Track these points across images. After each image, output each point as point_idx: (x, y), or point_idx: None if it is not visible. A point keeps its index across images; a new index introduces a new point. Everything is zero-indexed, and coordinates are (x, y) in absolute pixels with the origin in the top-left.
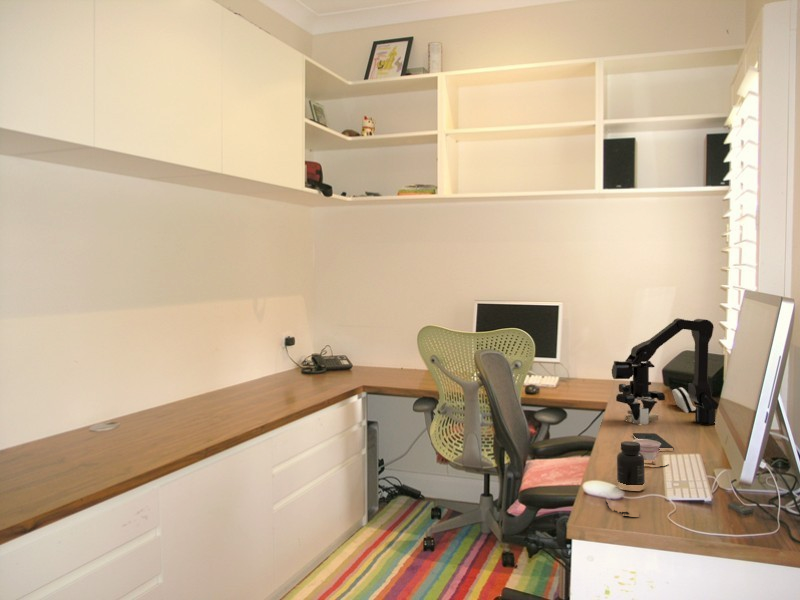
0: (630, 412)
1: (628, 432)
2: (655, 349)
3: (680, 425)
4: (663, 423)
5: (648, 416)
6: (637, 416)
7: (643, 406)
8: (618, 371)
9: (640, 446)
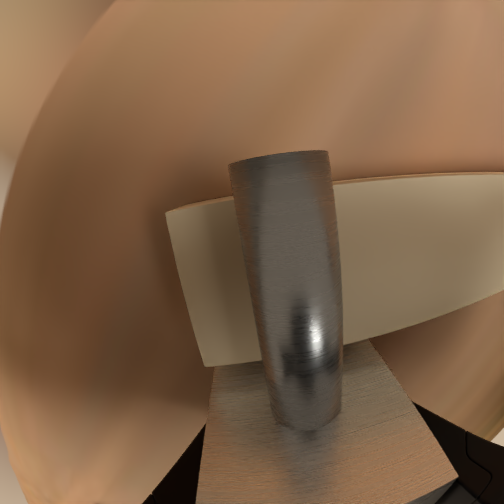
0: (251, 285)
1: (91, 482)
2: None
3: (478, 413)
4: (463, 375)
5: (482, 294)
6: None
7: (458, 494)
8: None
9: None
